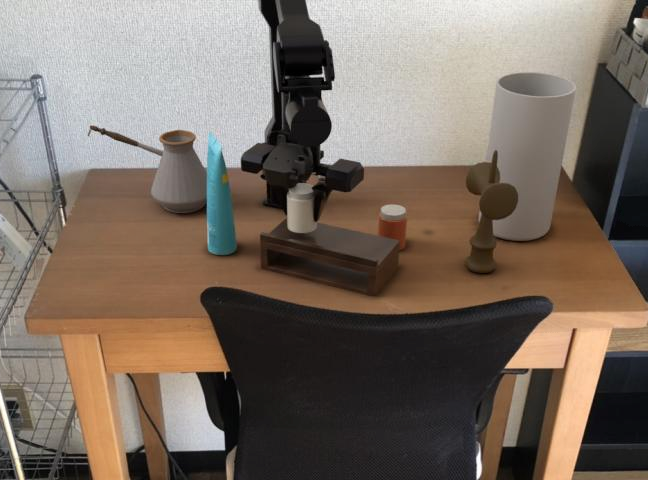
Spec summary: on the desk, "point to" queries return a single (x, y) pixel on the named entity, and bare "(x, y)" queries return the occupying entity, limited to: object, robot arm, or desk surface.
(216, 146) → the tube
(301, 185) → the white lidded jar
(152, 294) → the desk surface
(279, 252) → the shelf
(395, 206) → the orange lidded jar
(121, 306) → the desk surface
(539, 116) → the cylinder vase
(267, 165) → the robot arm
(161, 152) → the coffee pot
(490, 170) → the kendama
